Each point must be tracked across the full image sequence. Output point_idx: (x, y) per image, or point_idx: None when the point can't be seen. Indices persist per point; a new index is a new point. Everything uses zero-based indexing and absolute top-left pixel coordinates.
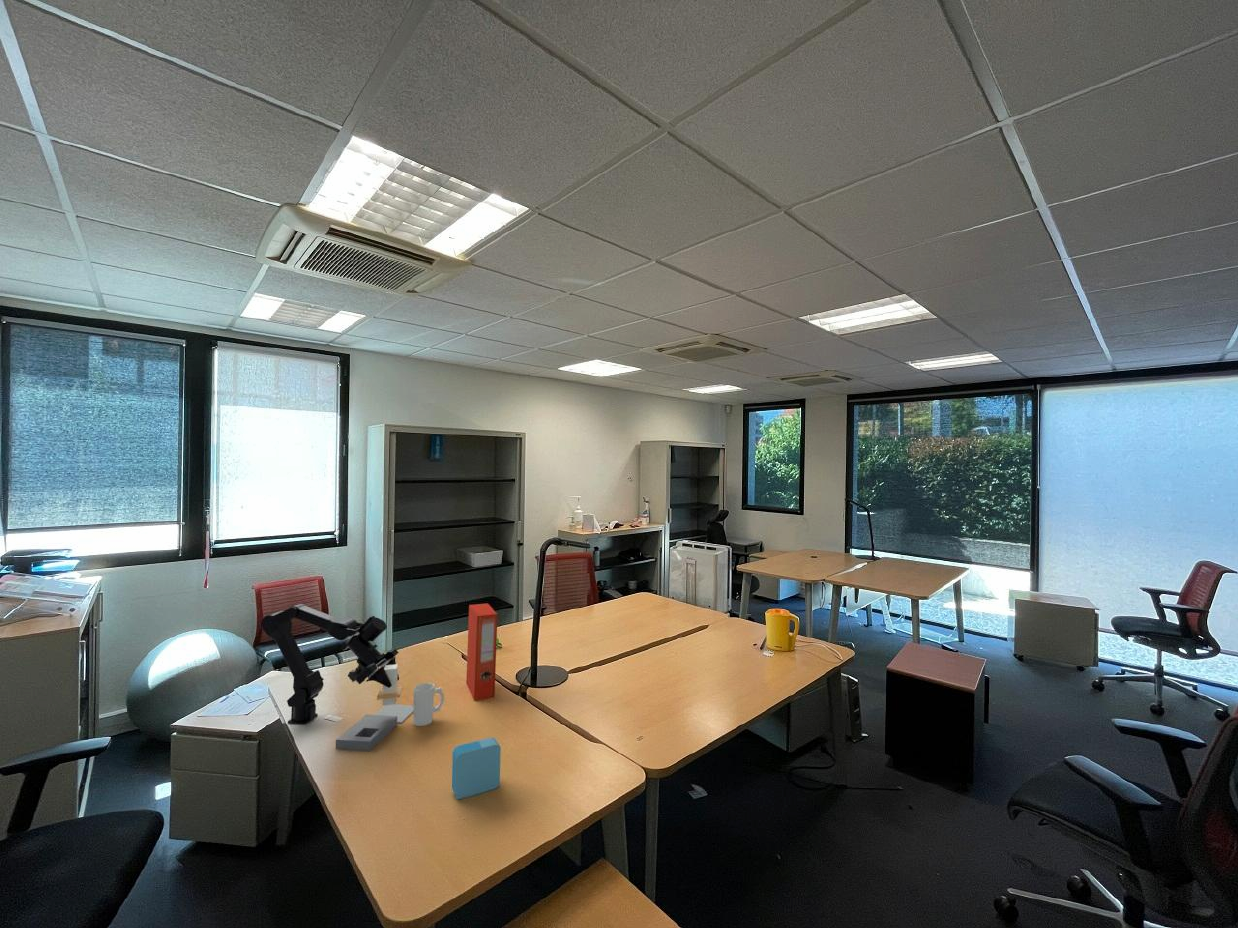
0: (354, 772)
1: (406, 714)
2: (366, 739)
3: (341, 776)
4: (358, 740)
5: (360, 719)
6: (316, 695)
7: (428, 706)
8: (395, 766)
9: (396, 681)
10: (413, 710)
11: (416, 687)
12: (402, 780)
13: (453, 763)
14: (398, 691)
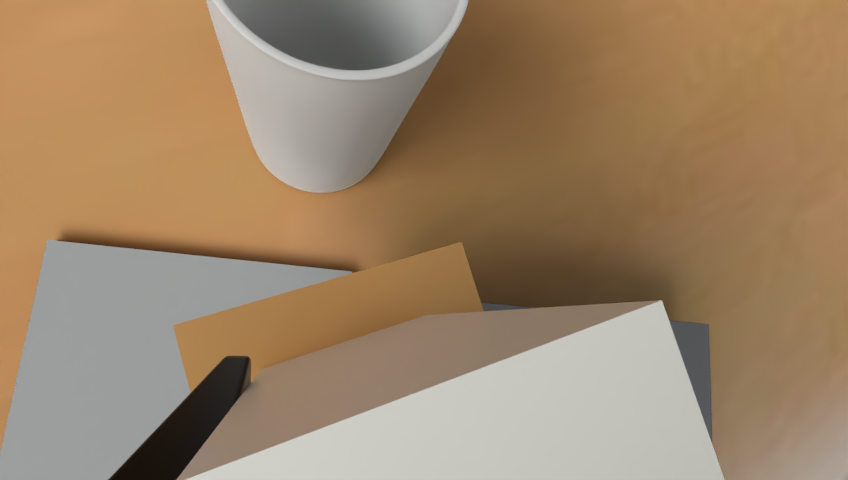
0: (812, 304)
1: (222, 284)
2: (689, 360)
3: (842, 349)
4: (706, 406)
5: None
6: None
7: (386, 10)
8: (750, 135)
9: (393, 337)
10: (359, 161)
11: (298, 71)
12: (820, 74)
13: None
14: (381, 294)
